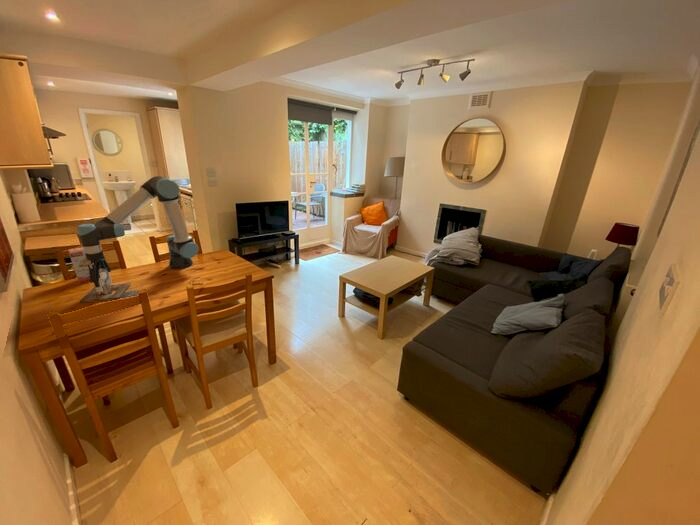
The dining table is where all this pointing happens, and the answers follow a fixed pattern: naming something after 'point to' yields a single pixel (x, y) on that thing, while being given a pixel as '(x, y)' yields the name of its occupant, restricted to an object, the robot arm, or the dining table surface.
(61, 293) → the dining table surface
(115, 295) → the pocket frame
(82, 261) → the cracker box
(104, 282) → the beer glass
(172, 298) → the dining table surface
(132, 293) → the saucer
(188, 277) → the dining table surface
